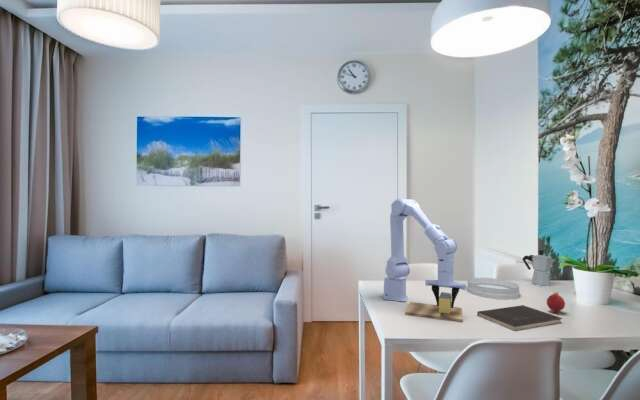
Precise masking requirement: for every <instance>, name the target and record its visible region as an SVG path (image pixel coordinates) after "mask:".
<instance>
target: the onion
mask: <svg viewBox="0 0 640 400" xmlns="http://www.w3.org/2000/svg"><path fill="white" fill-rule="evenodd" d="M546 305H547V307H548V309H549V310H551V311H552V312H554V313H559V312H560V311H562V310H564V309H565V306H566V302H565V300H564V298H562V296H560V294H559V292H557V291H555V292H553V293H552V294H551V295H549V296H548V297H547V299H546Z"/></svg>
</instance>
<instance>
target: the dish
mask: <svg viewBox="0 0 640 400" xmlns="http://www.w3.org/2000/svg"><path fill="white" fill-rule="evenodd" d="M466 291H467V293H469V294H471V295H474V296H477V297H480V298H484V299H491V300H492V299H493V300H501V301H502V300H504V301H506V300H507V301H508V300H510V299H511V300H516V298H517V299H519V298H520V285H519V284H518V283H516V282H513V281H510V280H506V279H501V278H494V277H493V278H492V277H473V278H472V277H471V278H469V279H467V285H466Z"/></svg>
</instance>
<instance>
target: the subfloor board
mask: <svg viewBox="0 0 640 400" xmlns="http://www.w3.org/2000/svg"><path fill="white" fill-rule="evenodd" d="M404 314H405V315H406V316H414V317H421V318H429V319H436V320H443V321H449V322H451V321H452V322H460V323H463V319H464V318H463V307H457V306H454V307H453V308H451V312H450V314H447V313H440V312H439V306H437V304H432V303H422V302H415V301H414V302H413V301H409V303H408V305H407V307H406V309H405V312H404Z"/></svg>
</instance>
